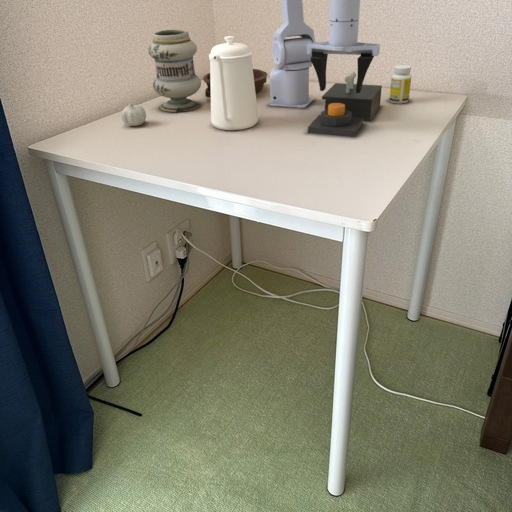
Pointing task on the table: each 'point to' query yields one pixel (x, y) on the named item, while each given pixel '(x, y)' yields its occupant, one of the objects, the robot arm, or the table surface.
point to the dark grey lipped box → (360, 107)
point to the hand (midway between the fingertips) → (340, 90)
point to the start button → (336, 109)
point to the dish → (258, 81)
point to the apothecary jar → (175, 69)
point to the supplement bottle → (400, 84)
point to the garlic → (133, 115)
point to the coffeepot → (232, 86)
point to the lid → (352, 91)
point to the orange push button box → (335, 124)
